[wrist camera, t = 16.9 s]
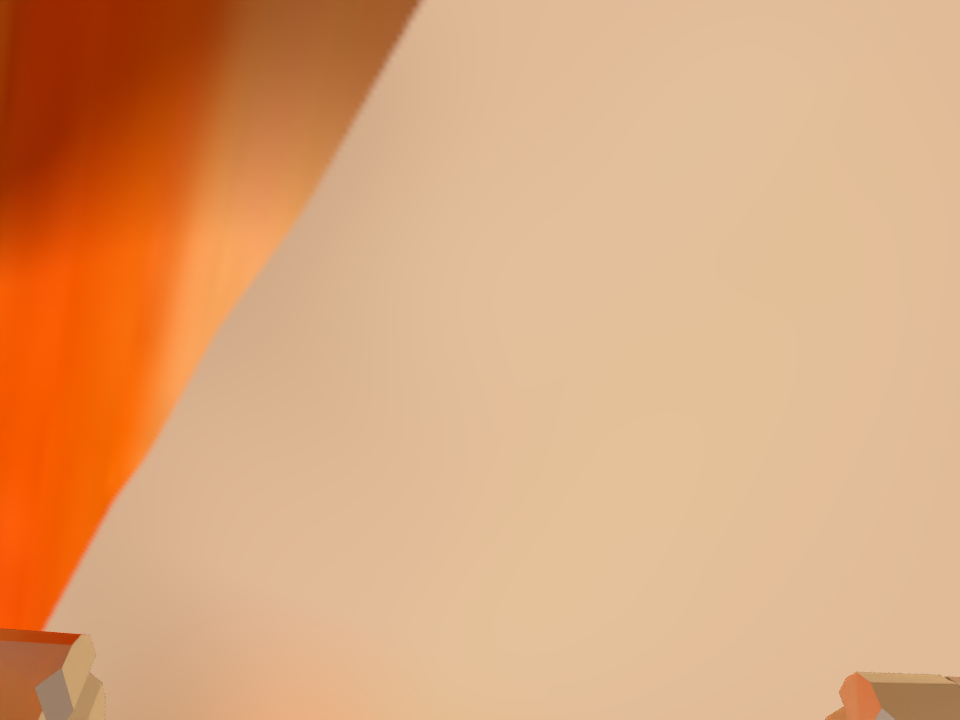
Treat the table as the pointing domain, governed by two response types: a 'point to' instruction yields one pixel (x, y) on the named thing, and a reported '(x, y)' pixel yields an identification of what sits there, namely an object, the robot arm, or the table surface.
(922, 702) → the robot arm
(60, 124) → the table surface
